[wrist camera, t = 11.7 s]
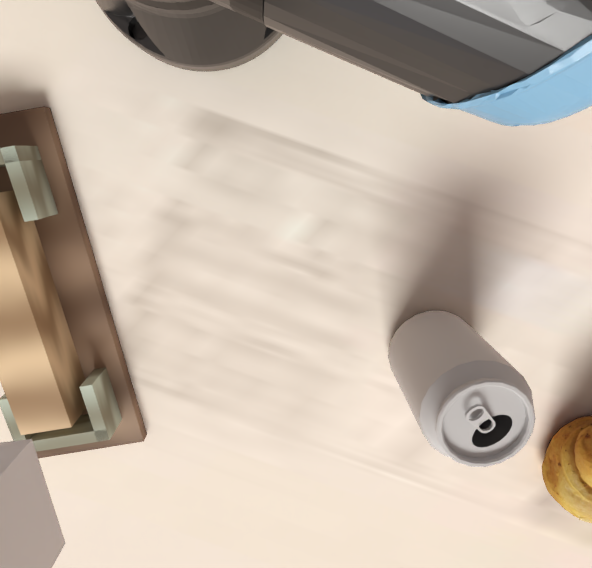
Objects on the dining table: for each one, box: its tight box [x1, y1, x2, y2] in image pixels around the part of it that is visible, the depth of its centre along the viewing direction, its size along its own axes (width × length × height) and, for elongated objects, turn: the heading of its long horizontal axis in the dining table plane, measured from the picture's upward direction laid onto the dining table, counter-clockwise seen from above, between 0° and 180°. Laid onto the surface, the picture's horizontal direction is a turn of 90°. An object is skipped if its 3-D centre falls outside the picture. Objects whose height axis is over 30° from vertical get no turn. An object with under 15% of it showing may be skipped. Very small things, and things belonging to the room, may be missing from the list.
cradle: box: [0, 107, 147, 458], centre depth 36 cm, size 28×10×4 cm, turn 9°
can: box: [388, 310, 535, 467], centre depth 34 cm, size 8×8×12 cm
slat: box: [0, 190, 86, 435], centre depth 35 cm, size 18×4×4 cm, turn 9°
